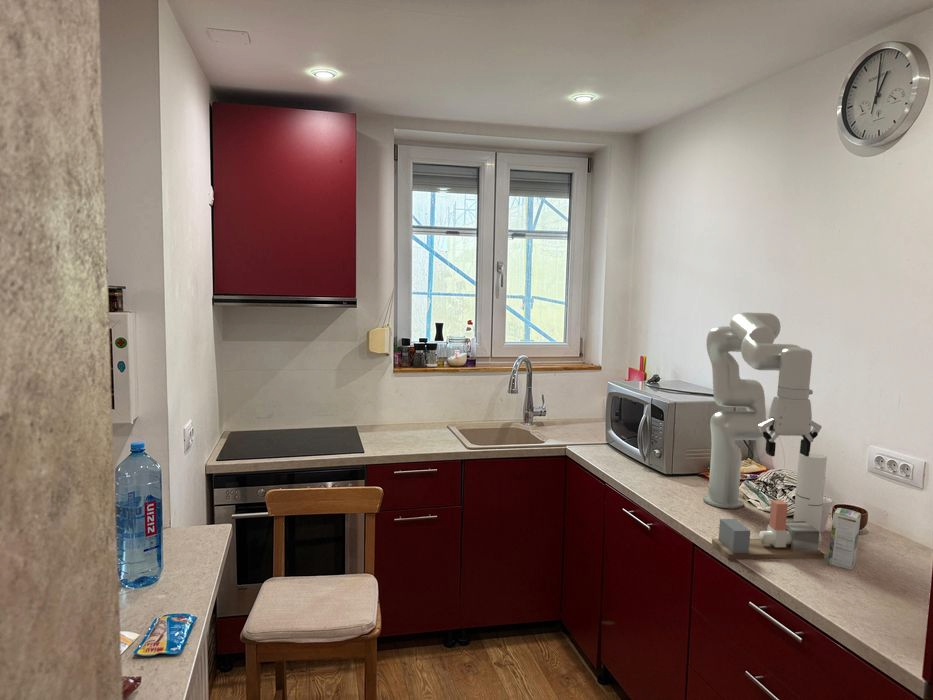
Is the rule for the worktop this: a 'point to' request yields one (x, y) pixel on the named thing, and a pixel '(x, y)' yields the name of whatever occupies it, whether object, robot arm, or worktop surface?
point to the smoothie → (825, 512)
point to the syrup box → (844, 538)
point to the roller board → (800, 547)
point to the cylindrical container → (810, 488)
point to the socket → (734, 535)
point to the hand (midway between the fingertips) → (787, 455)
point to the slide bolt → (778, 526)
